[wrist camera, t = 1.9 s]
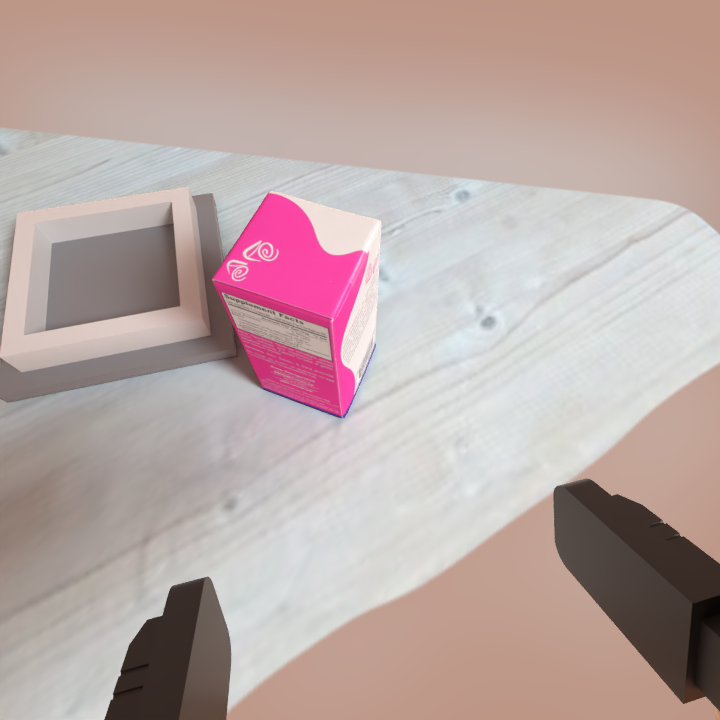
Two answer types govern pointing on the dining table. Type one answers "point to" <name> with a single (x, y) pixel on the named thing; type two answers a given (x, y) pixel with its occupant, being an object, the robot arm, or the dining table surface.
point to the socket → (112, 293)
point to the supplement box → (305, 299)
